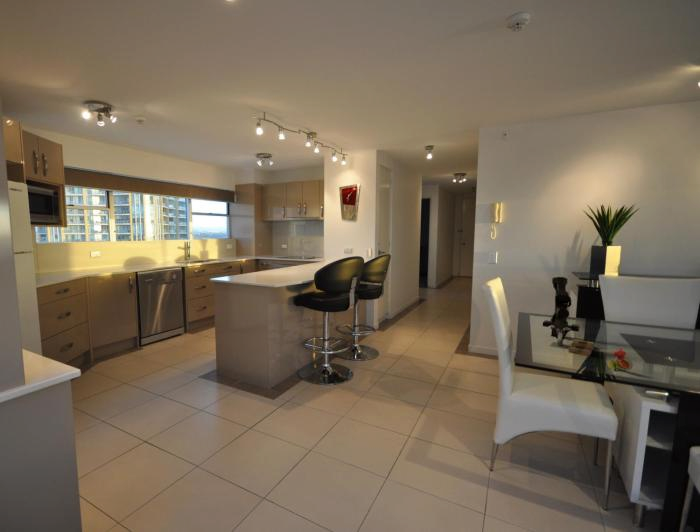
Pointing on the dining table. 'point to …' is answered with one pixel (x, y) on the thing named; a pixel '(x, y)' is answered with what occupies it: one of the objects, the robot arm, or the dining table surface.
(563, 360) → the dining table surface
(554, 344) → the mat
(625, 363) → the bird rattle
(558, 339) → the peg
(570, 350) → the hole block
